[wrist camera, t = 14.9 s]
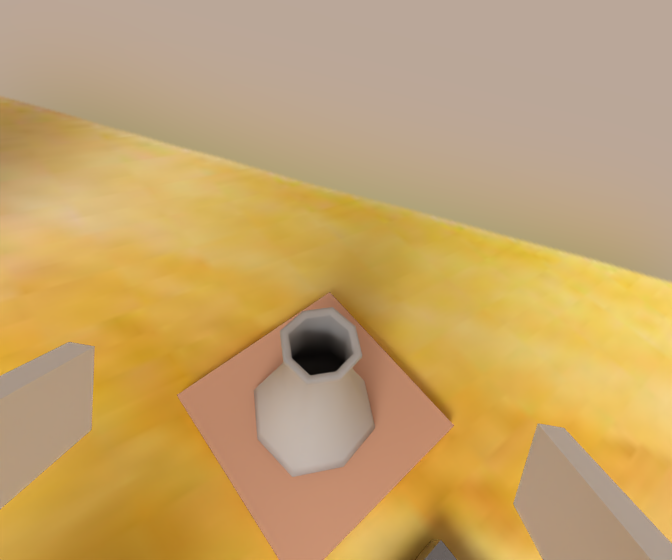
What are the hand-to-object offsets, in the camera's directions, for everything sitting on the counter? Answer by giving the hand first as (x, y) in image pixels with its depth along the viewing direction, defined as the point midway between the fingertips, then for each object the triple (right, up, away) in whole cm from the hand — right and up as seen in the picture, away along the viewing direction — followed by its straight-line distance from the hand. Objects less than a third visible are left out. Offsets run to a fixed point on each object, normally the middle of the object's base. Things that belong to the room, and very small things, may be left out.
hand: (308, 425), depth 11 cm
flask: (-1, -4, +12) cm, 13 cm away
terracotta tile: (0, -4, +13) cm, 13 cm away
